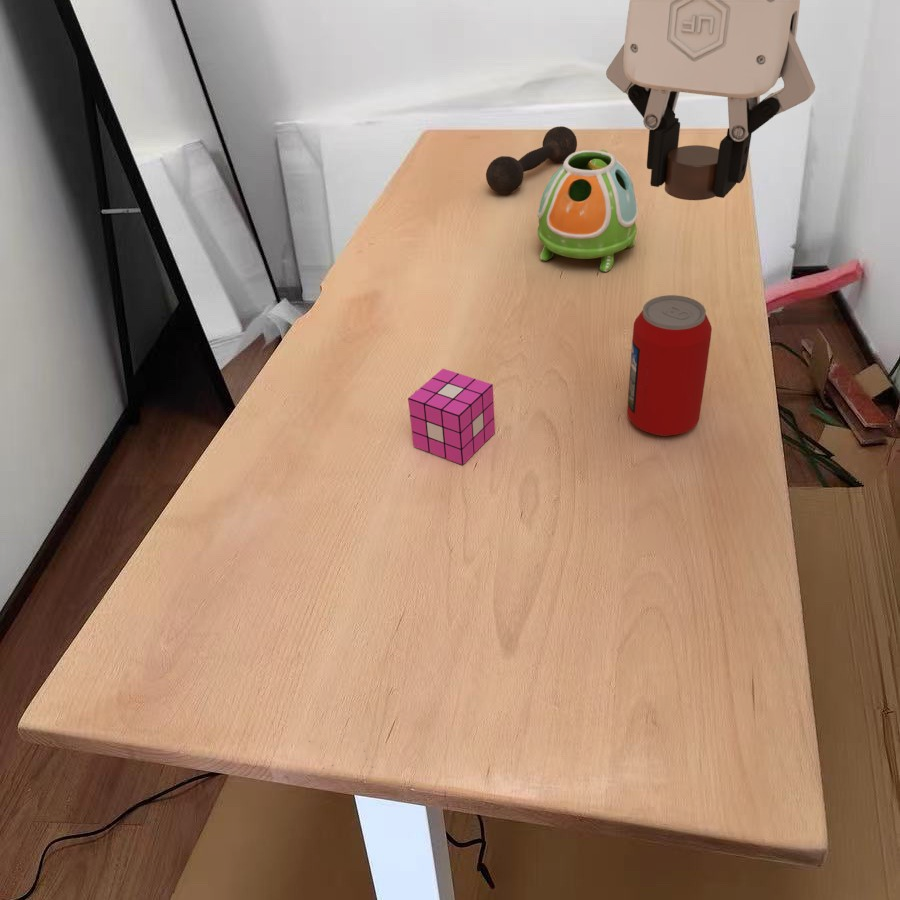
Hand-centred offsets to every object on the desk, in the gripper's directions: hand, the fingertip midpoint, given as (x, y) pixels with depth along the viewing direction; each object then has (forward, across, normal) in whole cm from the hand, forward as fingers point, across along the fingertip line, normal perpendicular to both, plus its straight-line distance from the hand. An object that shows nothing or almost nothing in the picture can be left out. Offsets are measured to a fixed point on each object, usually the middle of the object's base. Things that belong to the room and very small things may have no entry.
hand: (693, 182), depth 62 cm
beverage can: (+26, -2, +5) cm, 27 cm away
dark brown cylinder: (0, 0, 0) cm, 0 cm away
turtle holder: (+26, -25, +37) cm, 51 cm away
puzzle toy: (+26, -18, -6) cm, 32 cm away
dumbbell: (+26, -43, +55) cm, 74 cm away
